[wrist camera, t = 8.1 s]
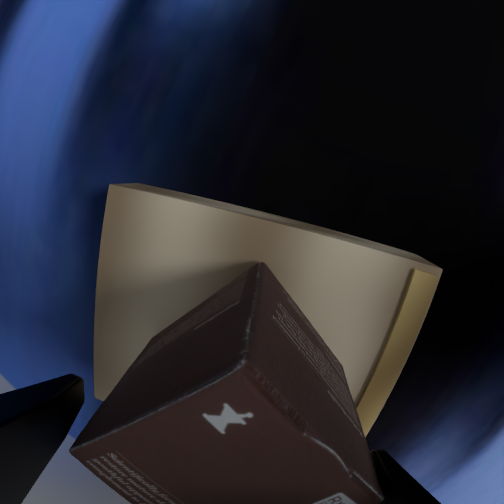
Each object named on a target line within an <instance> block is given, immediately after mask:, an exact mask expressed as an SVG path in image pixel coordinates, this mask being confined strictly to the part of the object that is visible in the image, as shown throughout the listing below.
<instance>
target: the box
mask: <svg viewBox="0 0 504 504" xmlns="http://www.w3.org/2000/svg"><path fill="white" fill-rule="evenodd" d="M69 452H70V453H71V454H72V455H73V456H74V457H75V458H76V459H78V460H79V461H80V462H81V463H82V464H83V465H84V466H85V467H87V468H88V469H89V470H90V471H91V472H93V473H94V474H95V475H96V476H97V477H98V478H100V479H101V480H102V481H103V482H105V483H106V484H107V485H108V486H109V487H111V488H112V489H113V490H115V491H116V492H117V493H119V494H120V495H121V496H122V497H124V498H125V499H126V500H127V501H129V502H130V503H132V504H379V503H380V502H382V501H383V500H384V496H383V493H382V491H381V489H380V486H379V483H378V480H377V476H376V472H375V468H374V465H373V462H372V458H371V455H370V452H369V448H368V445H367V442H366V438H365V435H364V432H363V429H362V426H361V422H360V419H359V416H358V413H357V410H356V407H355V404H354V401H353V398H352V396H351V393H350V390H349V386H348V383H347V379H346V377H345V373H344V369H343V366H342V364H341V363H340V362H339V360H338V359H337V358H336V356H335V355H334V354H333V352H332V351H331V350H330V349H329V347H328V346H327V345H326V343H325V342H324V340H323V339H322V338H321V336H320V335H319V334H318V332H317V331H316V330H315V328H314V327H313V326H312V324H311V323H310V321H309V320H308V319H307V318H306V316H305V315H304V314H303V312H302V311H301V310H300V308H299V307H298V306H297V304H296V303H295V302H294V301H293V299H292V298H291V296H290V295H289V294H288V293H287V291H286V290H285V289H284V287H283V286H282V285H281V283H280V282H279V281H278V280H277V278H276V277H275V276H274V274H273V273H272V271H271V270H270V269H269V268H268V266H267V265H266V264H265V263H264V262H259V263H257V264H255V265H254V266H252V267H251V268H250V269H248V270H247V271H245V272H244V273H243V274H241V275H240V276H238V277H237V278H236V279H234V280H233V281H231V282H230V283H229V284H227V285H226V286H224V287H223V288H222V289H220V290H219V291H217V292H216V293H215V294H213V295H212V296H210V297H209V298H208V299H206V300H205V301H203V302H202V303H201V304H199V305H198V306H196V307H195V308H193V309H192V310H190V311H189V312H188V313H186V314H185V315H184V316H182V317H181V318H179V319H178V320H176V321H175V322H174V323H172V324H171V325H169V326H168V327H167V328H165V329H164V330H162V331H161V332H160V333H158V334H157V335H155V336H154V337H152V338H151V340H150V341H149V342H148V344H147V345H146V346H145V348H144V349H143V350H142V352H141V353H140V354H139V355H138V357H137V358H136V360H135V361H134V362H133V363H132V365H131V366H130V367H129V368H128V369H127V371H126V372H125V374H124V375H123V376H122V378H121V379H120V380H119V382H118V384H117V385H116V386H115V387H114V389H113V390H112V391H111V393H110V394H109V395H108V396H107V398H106V399H105V400H104V402H103V403H102V404H101V405H100V407H99V408H98V410H97V411H96V412H95V414H94V415H93V416H92V418H91V419H90V420H89V422H88V423H87V425H86V426H85V428H84V429H83V430H82V432H81V433H80V434H79V436H78V437H77V439H76V440H75V442H74V443H73V445H72V446H71V448H70V449H69Z"/></svg>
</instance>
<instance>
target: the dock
mask: <svg viewBox="0 0 504 504" xmlns="http://www.w3.org/2000/svg"><path fill="white" fill-rule="evenodd" d="M259 262H264V263H265V264H266V265H267V266H268V268H269V269H270V270H271V271H272V273H273V274H274V276H275V277H276V278H277V280H278V281H279V282H280V283H281V285H282V286H283V287H284V289H285V290H286V291H287V293H288V294H289V295H290V296H291V298H292V299H293V301H294V302H295V303H296V304H297V306H298V307H299V308H300V310H301V311H302V312H303V314H304V315H305V316H306V318H307V319H308V320H309V321H310V323H311V324H312V326H313V327H314V328H315V330H316V331H317V332H318V334H319V335H320V336H321V338H322V339H323V340H324V342H325V343H326V345H327V346H328V347H329V349H330V350H331V351H332V352H333V354H334V355H335V356H336V358H337V359H338V360H339V362H340V363H341V364H342V366H343V369H344V373H345V377H346V379H347V383H348V386H349V390H350V393H351V396H352V398H353V401H354V404H355V407H356V410H357V413H358V416H359V419H360V422H361V426H362V429H363V432H364V435H365V437H366V435H367V434H368V432H369V430H370V429H371V427H372V425H373V423H374V422H375V420H376V418H377V417H378V415H379V413H380V411H381V409H382V408H383V406H384V404H385V402H386V400H387V398H388V397H389V395H390V393H391V391H392V389H393V387H394V385H395V383H396V381H397V379H398V377H399V375H400V373H401V371H402V369H403V367H404V365H405V363H406V361H407V359H408V356H409V354H410V352H411V350H412V348H413V345H414V343H415V341H416V339H417V336H418V334H419V332H420V329H421V327H422V324H423V322H424V319H425V317H426V314H427V312H428V309H429V307H430V304H431V301H432V299H433V296H434V293H435V291H436V288H437V285H438V282H439V279H440V276H441V273H442V270H443V269H441V268H440V267H438V266H436V265H434V264H433V263H431V262H429V261H427V260H425V259H424V258H422V257H420V256H418V255H416V254H414V253H411V252H407V251H404V250H400V249H397V248H394V247H390V246H387V245H383V244H380V243H377V242H373V241H370V240H366V239H363V238H359V237H355V236H352V235H348V234H345V233H341V232H338V231H334V230H330V229H327V228H323V227H319V226H315V225H312V224H308V223H304V222H300V221H296V220H293V219H289V218H285V217H281V216H277V215H273V214H269V213H265V212H261V211H257V210H253V209H249V208H245V207H241V206H237V205H233V204H229V203H224V202H220V201H216V200H212V199H207V198H203V197H199V196H194V195H190V194H186V193H181V192H177V191H172V190H168V189H163V188H159V187H154V186H149V185H145V184H140V183H129V184H109V189H108V195H107V201H106V207H105V214H104V220H103V228H102V235H101V243H100V252H99V261H98V272H97V284H96V298H95V317H94V395H95V398H97V399H99V400H102V401H104V400H105V399H106V398H107V396H108V395H109V394H110V393H111V391H112V390H113V389H114V387H115V386H116V385H117V384H118V382H119V380H120V379H121V378H122V376H123V375H124V374H125V372H126V371H127V369H128V368H129V367H130V366H131V365H132V363H133V362H134V361H135V360H136V358H137V357H138V355H139V354H140V353H141V352H142V350H143V349H144V348H145V346H146V345H147V344H148V342H149V341H150V340H151V338H152V337H154V336H155V335H157V334H158V333H160V332H161V331H162V330H164V329H165V328H167V327H168V326H169V325H171V324H172V323H174V322H175V321H176V320H178V319H179V318H181V317H182V316H184V315H185V314H186V313H188V312H189V311H190V310H192V309H193V308H195V307H196V306H198V305H199V304H201V303H202V302H203V301H205V300H206V299H208V298H209V297H210V296H212V295H213V294H215V293H216V292H217V291H219V290H220V289H222V288H223V287H224V286H226V285H227V284H229V283H230V282H231V281H233V280H234V279H236V278H237V277H238V276H240V275H241V274H243V273H244V272H245V271H247V270H248V269H250V268H251V267H252V266H254V265H255V264H257V263H259Z"/></svg>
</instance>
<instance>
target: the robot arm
mask: <svg viewBox="0 0 504 504" xmlns="http://www.w3.org/2000/svg"><path fill="white" fill-rule="evenodd" d="M84 399H85V396H84V381H83V379H82V378H81V377H79V376H76V375H74V374H67V375H64V376H61V377H58V378H54V379H51V380H48V381H45V382H41V383H38V384H34V385H31V386H28V387H24V388H21V389H17V390H13V391H10V392H6V393H3V394H0V504H21V503H22V502H23V500H24V499H25V497H26V496H27V494H28V493H29V491H30V490H31V488H32V486H33V485H34V483H35V482H36V481H37V479H38V478H39V476H40V474H41V473H42V471H43V470H44V469H45V467H46V466H47V464H48V463H49V461H50V460H51V458H52V457H53V455H54V454H55V452H56V451H57V449H58V448H59V447H60V445H61V444H62V442H63V440H64V439H65V437H66V436H67V434H68V432H69V430H70V428H71V426H72V424H73V422H74V420H75V419H76V417H77V415H78V413H79V411H80V409H81V407H82V405H83V403H84ZM370 455H371V458H372V462H373V465H374V468H375V472H376V476H377V480H378V483H379V486H380V489H381V491H382V493H383V496H384V500H383V501H382V502H380V503H379V504H441V503H440V502H439V501H438V500H437V499H435V498H434V497H433V496H432V495H431V494H430V493H429V492H428V491H427V490H426V489H425V488H424V487H423V486H421V485H420V484H419V483H418V482H417V481H416V480H415V479H414V478H413V477H412V476H411V475H410V474H409V473H408V472H407V471H406V470H405V469H404V468H402V467H401V466H400V465H399V464H398V463H397V462H396V461H395V460H394V459H393V458H392V457H391V456H390V455H389V454H388V453H387V452H386V451H384V450H372V451H371V452H370Z"/></svg>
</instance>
